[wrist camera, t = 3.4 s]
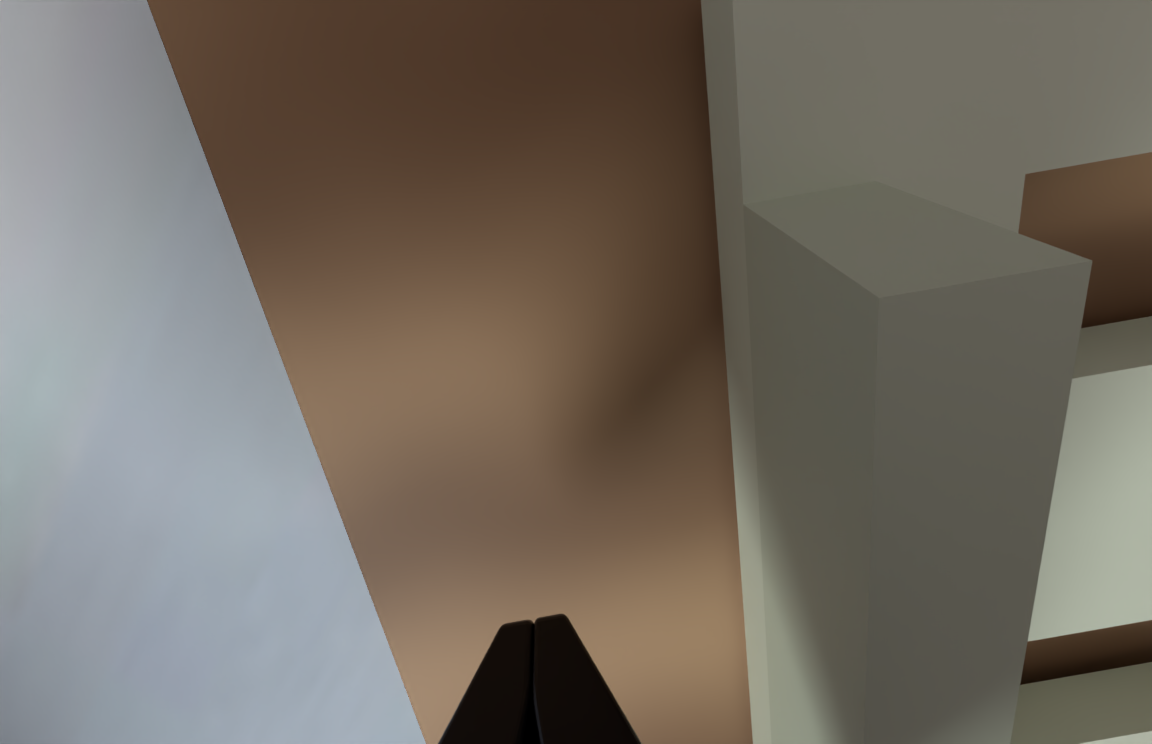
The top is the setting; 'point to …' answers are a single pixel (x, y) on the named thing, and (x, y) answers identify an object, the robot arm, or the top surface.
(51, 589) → the top surface
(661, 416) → the walnut board
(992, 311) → the sage panel
